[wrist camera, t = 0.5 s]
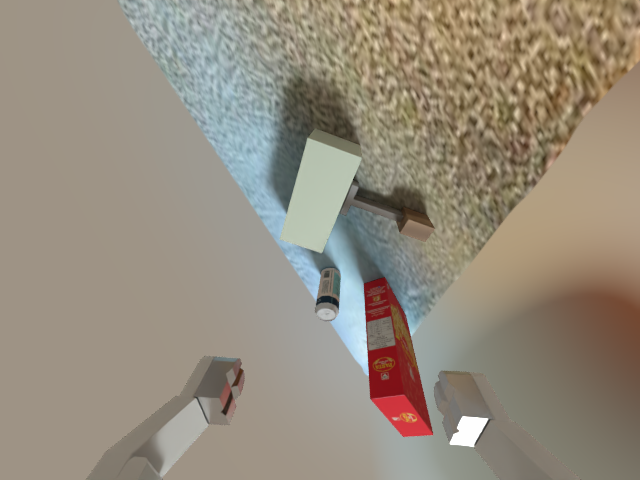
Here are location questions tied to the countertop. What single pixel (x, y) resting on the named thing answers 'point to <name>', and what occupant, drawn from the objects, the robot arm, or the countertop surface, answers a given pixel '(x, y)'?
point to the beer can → (328, 295)
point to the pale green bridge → (320, 189)
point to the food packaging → (393, 362)
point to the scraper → (391, 214)
